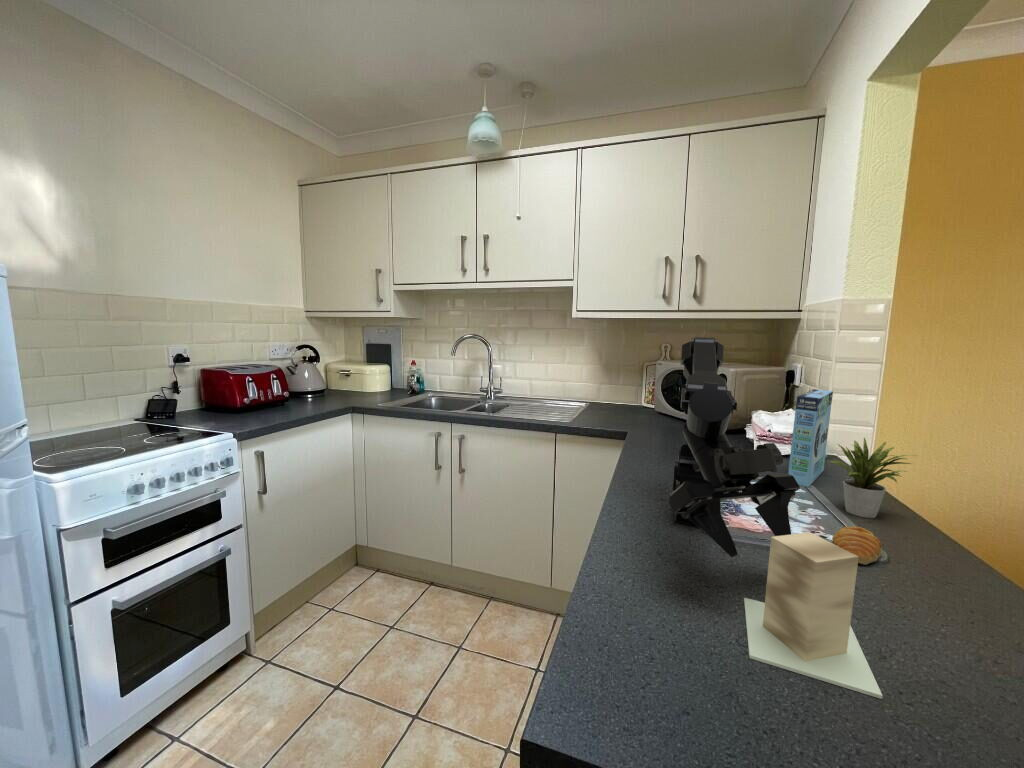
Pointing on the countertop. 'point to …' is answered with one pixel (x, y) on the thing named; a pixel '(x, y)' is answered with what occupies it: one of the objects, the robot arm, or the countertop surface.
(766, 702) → the countertop surface
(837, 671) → the sage mat
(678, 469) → the robot arm
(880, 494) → the house plant
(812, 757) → the countertop surface
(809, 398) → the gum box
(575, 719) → the countertop surface
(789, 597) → the birch block
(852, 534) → the pastry
